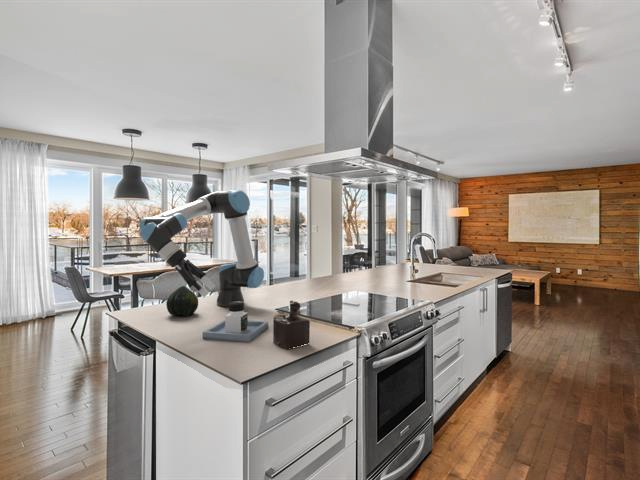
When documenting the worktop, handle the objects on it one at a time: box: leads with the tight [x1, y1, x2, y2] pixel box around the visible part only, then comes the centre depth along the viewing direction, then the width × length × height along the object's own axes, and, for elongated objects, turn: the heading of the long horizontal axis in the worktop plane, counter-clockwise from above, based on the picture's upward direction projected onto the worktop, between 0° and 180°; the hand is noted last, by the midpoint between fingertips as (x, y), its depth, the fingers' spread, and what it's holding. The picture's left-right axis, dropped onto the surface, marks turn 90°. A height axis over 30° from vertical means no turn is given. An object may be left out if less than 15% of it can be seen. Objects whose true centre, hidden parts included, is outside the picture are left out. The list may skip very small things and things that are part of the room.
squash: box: [165, 285, 199, 318], centre depth 183 cm, size 14×15×15 cm
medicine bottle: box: [224, 302, 249, 333], centre depth 152 cm, size 7×7×12 cm
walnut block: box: [273, 313, 288, 319], centre depth 162 cm, size 6×6×5 cm
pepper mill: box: [272, 300, 311, 350], centre depth 136 cm, size 16×11×18 cm
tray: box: [202, 319, 269, 343], centre depth 152 cm, size 20×20×3 cm
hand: (210, 291), depth 152 cm, fingers open, 13 cm apart
